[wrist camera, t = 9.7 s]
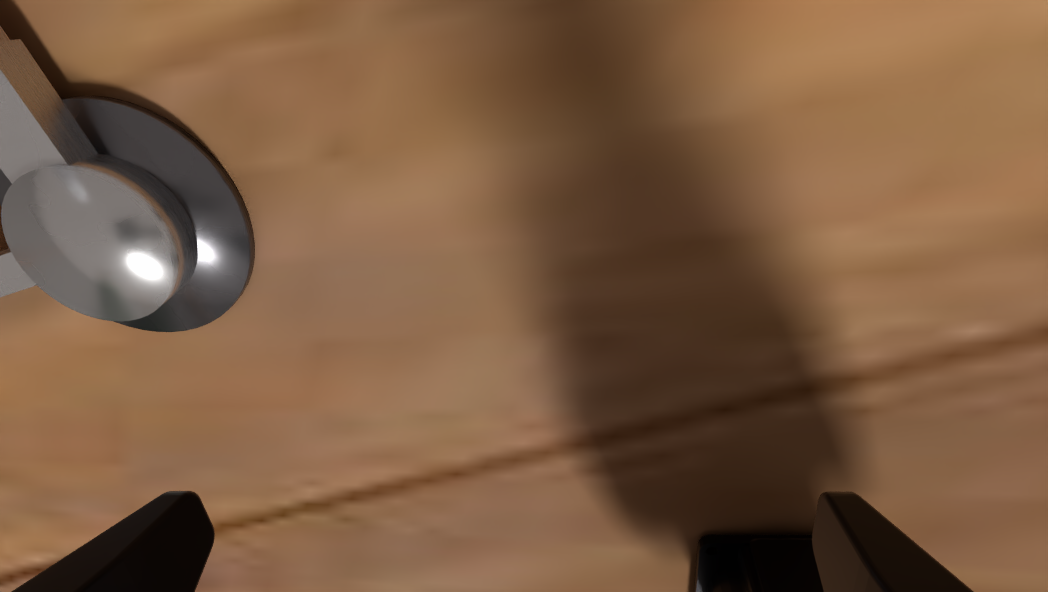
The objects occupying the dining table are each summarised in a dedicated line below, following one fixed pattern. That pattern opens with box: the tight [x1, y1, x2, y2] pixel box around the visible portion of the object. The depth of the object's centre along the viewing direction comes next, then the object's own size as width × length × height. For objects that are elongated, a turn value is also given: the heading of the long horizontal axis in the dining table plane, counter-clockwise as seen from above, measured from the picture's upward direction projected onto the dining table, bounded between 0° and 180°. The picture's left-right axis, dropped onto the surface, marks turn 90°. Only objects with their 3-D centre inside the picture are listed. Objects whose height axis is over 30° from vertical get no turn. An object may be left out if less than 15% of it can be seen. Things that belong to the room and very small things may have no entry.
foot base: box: [0, 96, 255, 332], centre depth 20 cm, size 8×8×1 cm
